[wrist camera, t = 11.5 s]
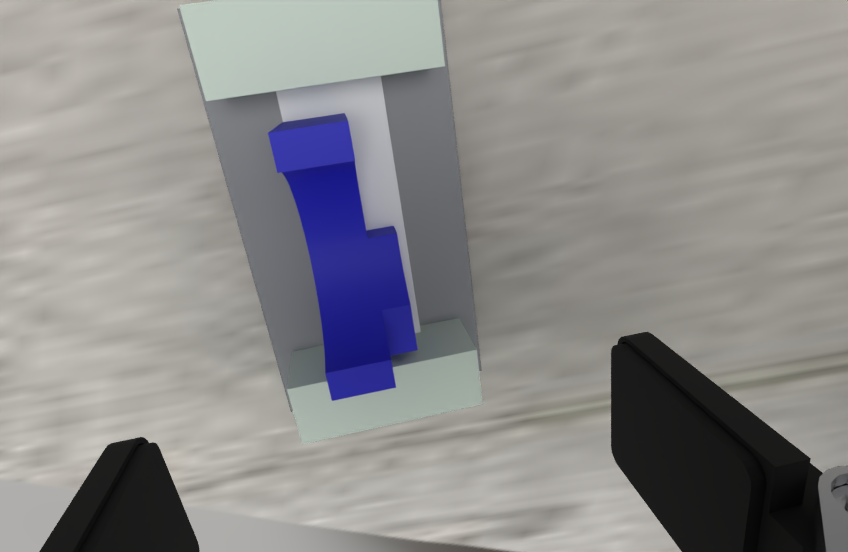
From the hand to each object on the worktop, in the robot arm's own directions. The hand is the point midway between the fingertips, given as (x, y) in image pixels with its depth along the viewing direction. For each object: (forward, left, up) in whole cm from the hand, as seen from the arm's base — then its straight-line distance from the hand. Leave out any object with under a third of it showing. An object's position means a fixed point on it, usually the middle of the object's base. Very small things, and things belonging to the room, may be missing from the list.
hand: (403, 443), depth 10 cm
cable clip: (+1, 0, -18) cm, 18 cm away
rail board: (0, 0, -20) cm, 20 cm away
